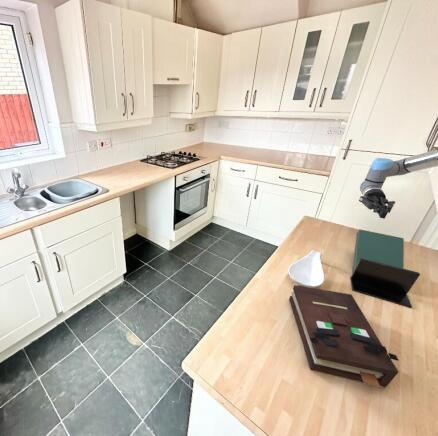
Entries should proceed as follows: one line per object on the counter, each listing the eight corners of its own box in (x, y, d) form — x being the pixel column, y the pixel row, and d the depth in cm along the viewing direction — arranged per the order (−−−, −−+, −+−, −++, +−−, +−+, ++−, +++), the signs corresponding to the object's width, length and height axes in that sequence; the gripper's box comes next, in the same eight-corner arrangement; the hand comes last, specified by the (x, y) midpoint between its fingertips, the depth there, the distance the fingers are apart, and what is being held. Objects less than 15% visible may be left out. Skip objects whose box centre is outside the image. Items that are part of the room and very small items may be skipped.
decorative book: (353, 288, 80) (413, 382, 55) (345, 304, 84) (397, 399, 58) (289, 278, 85) (317, 360, 59) (283, 293, 88) (307, 377, 63)
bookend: (404, 293, 87) (419, 272, 82) (411, 308, 82) (426, 286, 77) (349, 278, 95) (360, 257, 90) (352, 290, 89) (363, 269, 84)
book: (399, 241, 98) (403, 237, 96) (398, 286, 90) (403, 283, 88) (356, 232, 105) (359, 228, 103) (352, 273, 97) (355, 271, 94)
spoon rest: (317, 297, 86) (323, 282, 83) (282, 282, 93) (286, 268, 90) (329, 265, 102) (335, 251, 98) (298, 254, 109) (302, 240, 105)
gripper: (387, 205, 117) (400, 227, 100) (354, 200, 123) (360, 219, 106) (395, 191, 114) (409, 210, 96) (360, 186, 120) (367, 204, 102)
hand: (383, 215), depth 101 cm, fingers closed
